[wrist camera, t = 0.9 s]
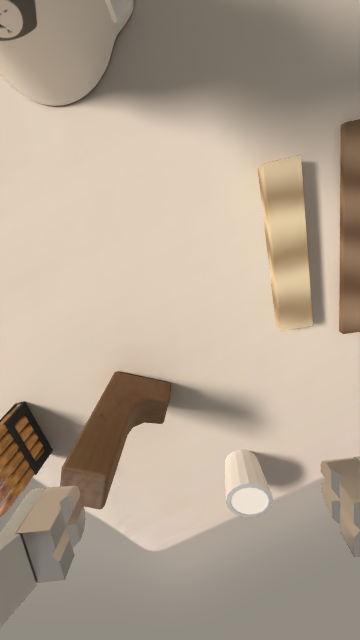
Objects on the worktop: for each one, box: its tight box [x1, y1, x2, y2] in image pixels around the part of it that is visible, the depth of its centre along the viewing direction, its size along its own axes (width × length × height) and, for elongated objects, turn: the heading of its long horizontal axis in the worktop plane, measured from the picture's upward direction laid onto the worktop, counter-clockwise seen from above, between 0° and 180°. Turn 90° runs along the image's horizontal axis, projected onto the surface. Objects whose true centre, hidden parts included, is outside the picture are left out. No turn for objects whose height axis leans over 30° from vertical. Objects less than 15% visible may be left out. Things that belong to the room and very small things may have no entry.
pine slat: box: [258, 155, 313, 331], centre depth 33 cm, size 20×4×3 cm, turn 12°
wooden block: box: [60, 372, 171, 509], centre depth 34 cm, size 9×4×18 cm, turn 78°
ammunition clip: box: [0, 402, 52, 517], centre depth 40 cm, size 11×2×12 cm, turn 17°
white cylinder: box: [225, 450, 273, 517], centre depth 43 cm, size 7×7×7 cm
